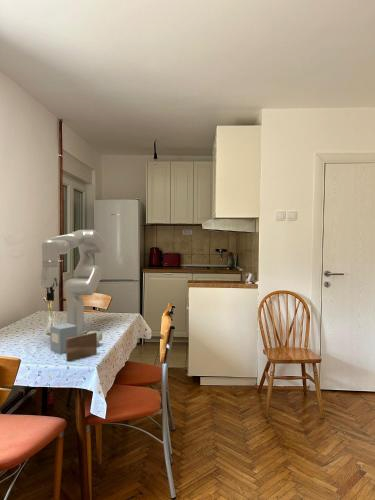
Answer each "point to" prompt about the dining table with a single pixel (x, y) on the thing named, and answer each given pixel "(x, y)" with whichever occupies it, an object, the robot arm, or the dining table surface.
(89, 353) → the board
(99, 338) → the sage mug
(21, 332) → the dining table surface
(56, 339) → the grey box
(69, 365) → the dining table surface
